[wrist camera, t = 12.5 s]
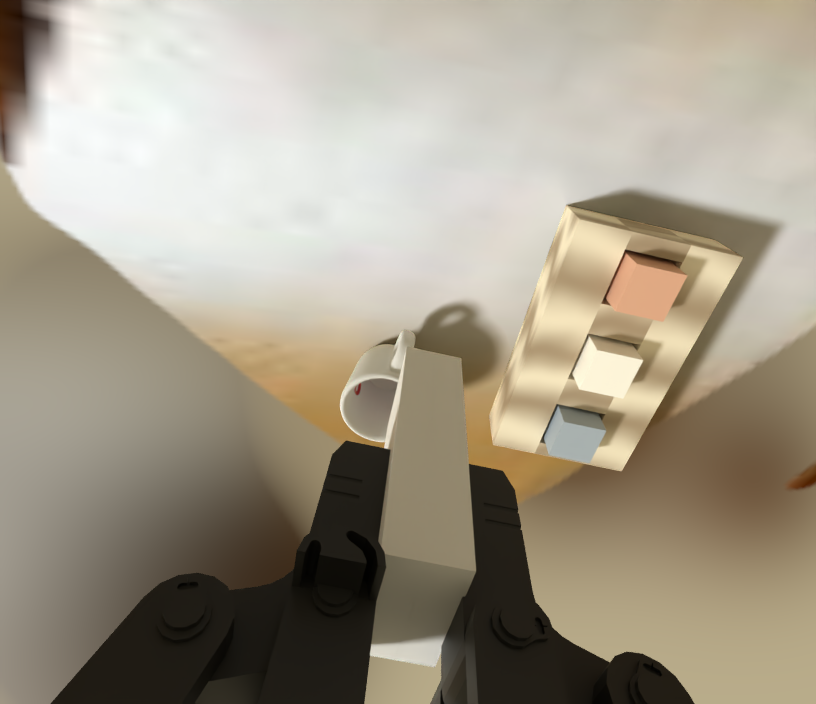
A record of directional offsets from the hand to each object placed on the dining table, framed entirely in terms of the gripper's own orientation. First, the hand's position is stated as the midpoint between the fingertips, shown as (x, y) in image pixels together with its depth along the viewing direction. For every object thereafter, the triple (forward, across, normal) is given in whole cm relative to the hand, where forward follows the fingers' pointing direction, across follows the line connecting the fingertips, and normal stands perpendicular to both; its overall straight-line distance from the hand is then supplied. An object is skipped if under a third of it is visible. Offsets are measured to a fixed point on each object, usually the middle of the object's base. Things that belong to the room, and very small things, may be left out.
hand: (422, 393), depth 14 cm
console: (+34, +19, -12) cm, 41 cm away
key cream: (+32, +19, -12) cm, 39 cm away
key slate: (+32, +19, -20) cm, 42 cm away
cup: (+35, 0, -19) cm, 39 cm away
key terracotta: (+32, +19, -4) cm, 37 cm away
